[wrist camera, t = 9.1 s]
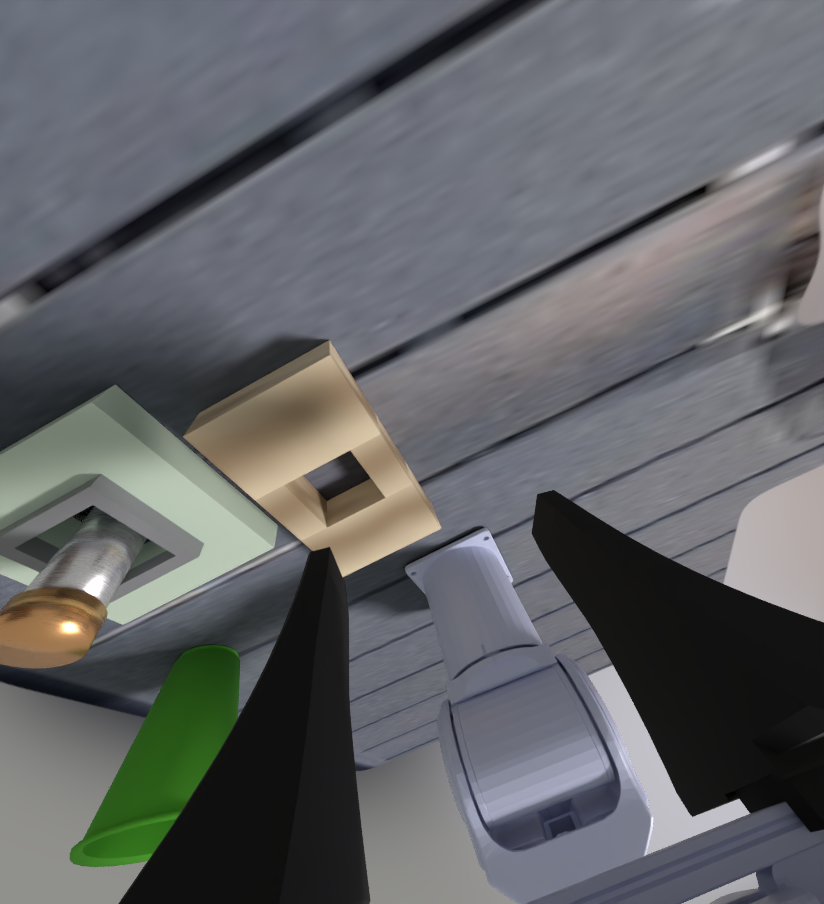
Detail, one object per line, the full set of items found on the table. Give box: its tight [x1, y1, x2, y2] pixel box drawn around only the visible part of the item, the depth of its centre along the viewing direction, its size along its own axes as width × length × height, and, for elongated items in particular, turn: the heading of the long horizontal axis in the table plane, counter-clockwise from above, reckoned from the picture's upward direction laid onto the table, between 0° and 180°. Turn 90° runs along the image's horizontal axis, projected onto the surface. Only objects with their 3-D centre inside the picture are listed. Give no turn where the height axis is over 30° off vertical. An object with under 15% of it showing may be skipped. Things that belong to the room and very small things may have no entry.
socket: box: [0, 385, 278, 625], centre depth 18 cm, size 12×12×3 cm
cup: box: [70, 645, 240, 867], centre depth 25 cm, size 9×9×11 cm
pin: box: [0, 507, 147, 668], centre depth 16 cm, size 3×3×8 cm
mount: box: [183, 340, 441, 577], centre depth 20 cm, size 14×8×2 cm, turn 25°
